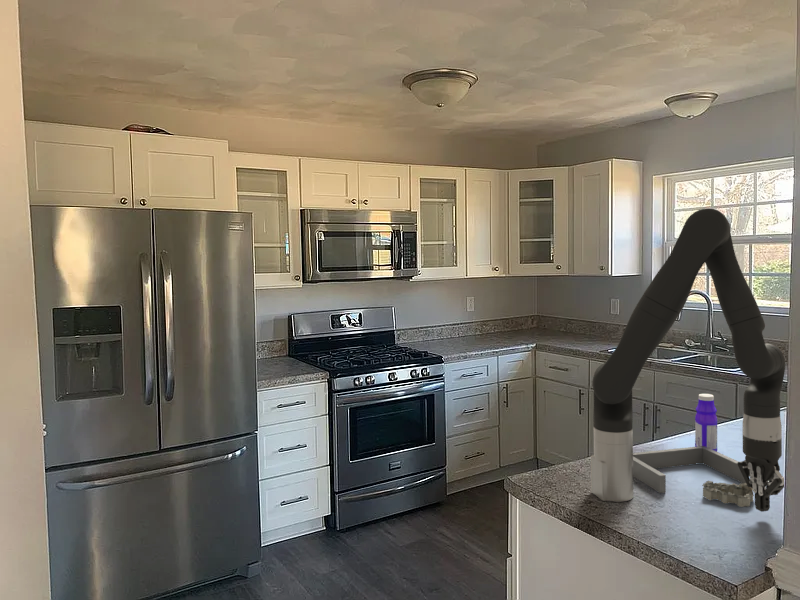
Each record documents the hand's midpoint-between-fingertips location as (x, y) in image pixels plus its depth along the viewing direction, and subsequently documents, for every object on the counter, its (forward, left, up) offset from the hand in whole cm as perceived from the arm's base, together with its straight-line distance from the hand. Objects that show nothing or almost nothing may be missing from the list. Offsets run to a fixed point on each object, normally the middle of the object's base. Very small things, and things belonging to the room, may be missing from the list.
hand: (762, 510), depth 139 cm
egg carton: (0, +12, -3) cm, 12 cm away
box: (0, +27, -2) cm, 27 cm away
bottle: (+18, +43, -2) cm, 46 cm away
